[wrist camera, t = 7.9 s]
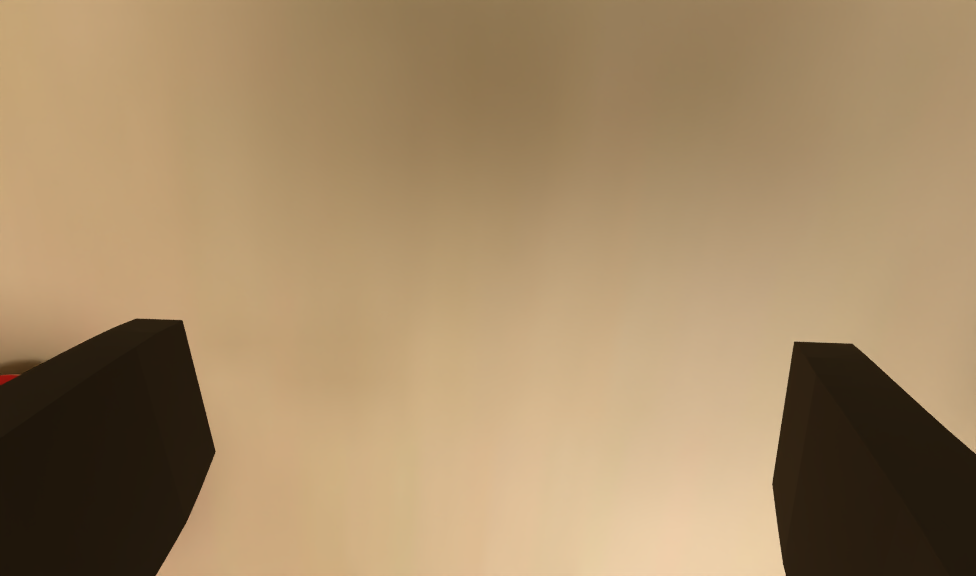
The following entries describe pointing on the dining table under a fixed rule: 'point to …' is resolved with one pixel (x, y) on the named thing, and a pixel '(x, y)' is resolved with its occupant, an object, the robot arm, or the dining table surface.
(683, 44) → the dining table surface
